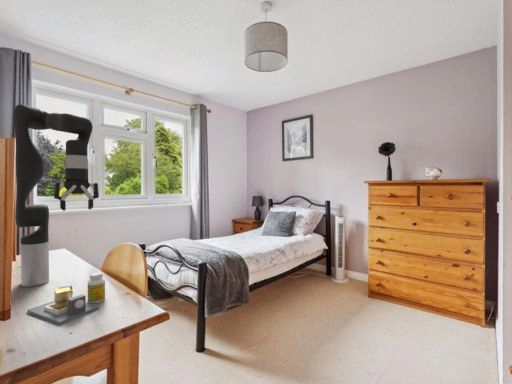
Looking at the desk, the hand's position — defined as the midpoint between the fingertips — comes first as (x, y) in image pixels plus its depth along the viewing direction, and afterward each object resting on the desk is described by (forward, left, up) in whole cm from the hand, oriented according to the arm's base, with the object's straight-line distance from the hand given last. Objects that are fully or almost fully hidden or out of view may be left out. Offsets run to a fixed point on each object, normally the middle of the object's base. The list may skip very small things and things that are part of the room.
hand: (77, 209), depth 106 cm
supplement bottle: (+14, -2, -32) cm, 35 cm away
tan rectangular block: (+12, -12, -31) cm, 35 cm away
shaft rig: (+12, -12, -32) cm, 36 cm away
